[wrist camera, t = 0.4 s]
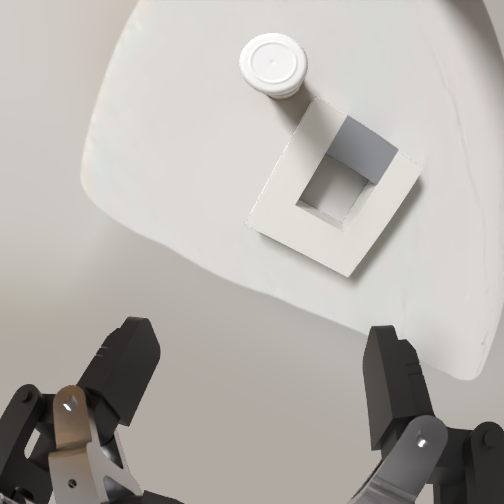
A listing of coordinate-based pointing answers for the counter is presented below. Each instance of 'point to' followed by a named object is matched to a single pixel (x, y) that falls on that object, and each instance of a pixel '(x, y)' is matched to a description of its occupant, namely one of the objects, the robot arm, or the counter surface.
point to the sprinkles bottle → (274, 65)
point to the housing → (300, 172)
